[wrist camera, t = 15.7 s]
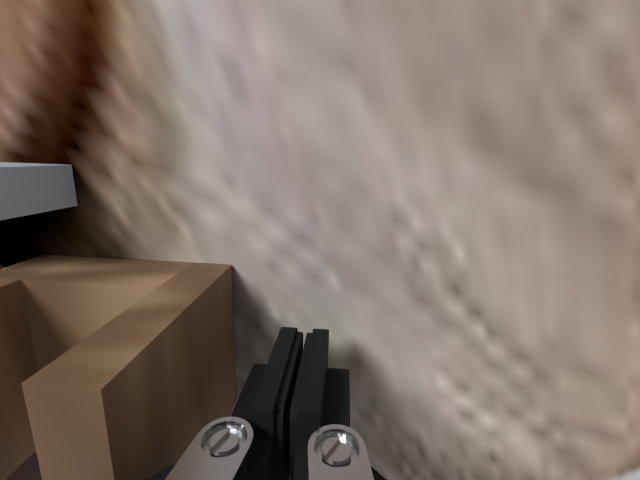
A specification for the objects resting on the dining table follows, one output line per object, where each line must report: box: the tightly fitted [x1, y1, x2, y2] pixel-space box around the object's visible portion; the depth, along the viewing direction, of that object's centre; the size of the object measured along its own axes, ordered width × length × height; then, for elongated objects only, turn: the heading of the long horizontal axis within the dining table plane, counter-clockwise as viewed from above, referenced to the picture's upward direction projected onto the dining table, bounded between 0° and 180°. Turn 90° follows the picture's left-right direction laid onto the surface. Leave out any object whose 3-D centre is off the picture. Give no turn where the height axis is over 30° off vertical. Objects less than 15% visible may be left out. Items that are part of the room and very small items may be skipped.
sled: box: [0, 255, 236, 480], centre depth 10 cm, size 8×6×7 cm
